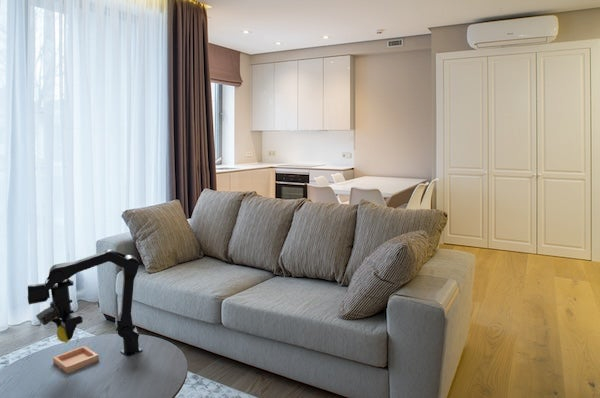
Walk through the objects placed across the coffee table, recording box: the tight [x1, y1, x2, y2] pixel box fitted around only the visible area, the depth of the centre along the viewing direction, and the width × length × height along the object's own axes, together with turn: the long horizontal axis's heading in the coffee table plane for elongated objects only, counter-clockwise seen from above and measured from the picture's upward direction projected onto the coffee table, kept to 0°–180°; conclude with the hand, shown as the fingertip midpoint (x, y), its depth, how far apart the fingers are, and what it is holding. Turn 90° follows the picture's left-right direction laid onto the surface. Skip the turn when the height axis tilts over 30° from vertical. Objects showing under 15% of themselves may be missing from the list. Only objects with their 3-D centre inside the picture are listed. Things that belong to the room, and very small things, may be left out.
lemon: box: [56, 324, 74, 344], centre depth 166 cm, size 6×6×8 cm
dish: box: [52, 345, 100, 374], centre depth 170 cm, size 12×12×2 cm
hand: (66, 337), depth 166 cm, fingers closed on lemon, 5 cm apart
